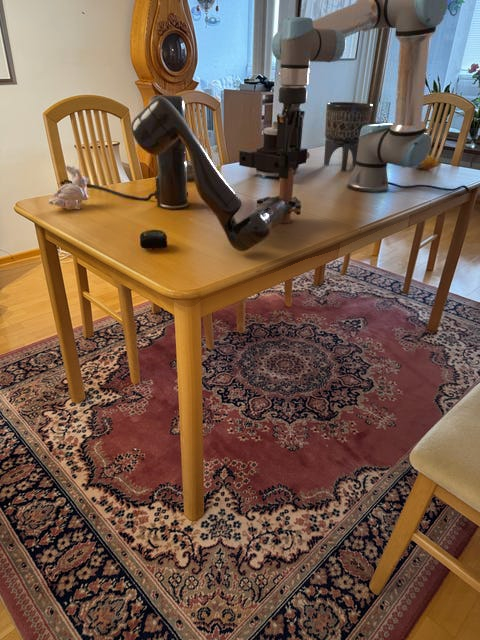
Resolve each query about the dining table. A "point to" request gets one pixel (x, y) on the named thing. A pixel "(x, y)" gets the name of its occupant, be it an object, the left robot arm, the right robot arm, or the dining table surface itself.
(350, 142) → the planter
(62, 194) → the figurine
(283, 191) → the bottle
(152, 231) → the tape measure
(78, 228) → the dining table surface
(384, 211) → the dining table surface
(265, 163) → the mechanical component
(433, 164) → the toy
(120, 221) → the dining table surface
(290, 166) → the lid
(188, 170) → the rock
